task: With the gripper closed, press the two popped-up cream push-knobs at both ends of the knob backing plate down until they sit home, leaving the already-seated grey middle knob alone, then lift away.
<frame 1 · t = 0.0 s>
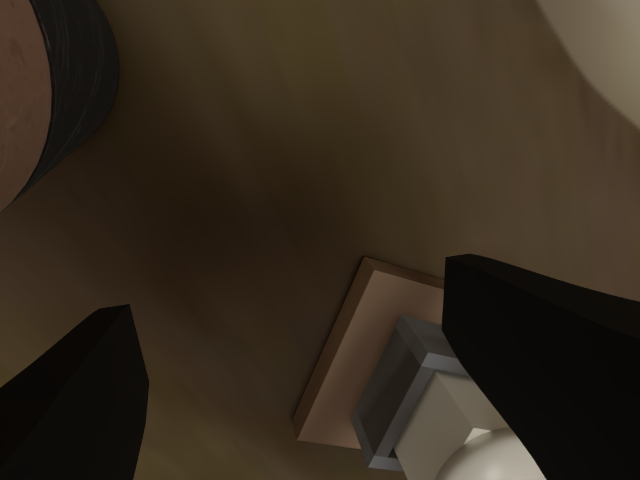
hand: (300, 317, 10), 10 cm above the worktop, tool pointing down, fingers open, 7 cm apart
knob backing plate: (558, 392, 28), on the worktop
knob 1: (475, 451, 19), point 6 cm above the worktop, slide at 2.2 cm
travel mug: (12, 54, 16), on the worktop
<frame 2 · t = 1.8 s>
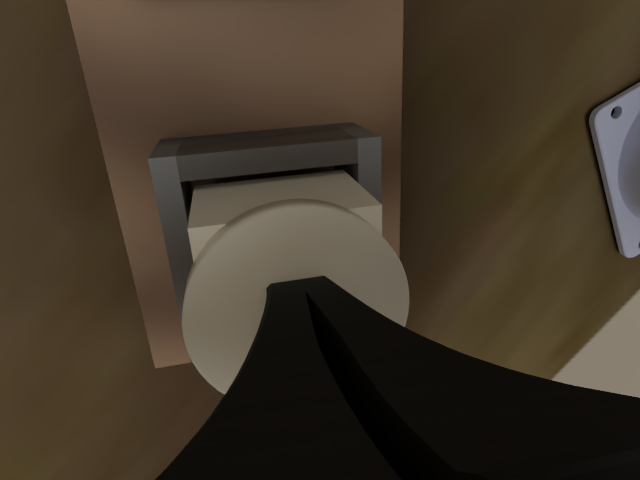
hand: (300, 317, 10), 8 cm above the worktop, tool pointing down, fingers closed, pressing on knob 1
knob 1: (287, 276, 12), point 6 cm above the worktop, slide at 2.1 cm, touching gripper
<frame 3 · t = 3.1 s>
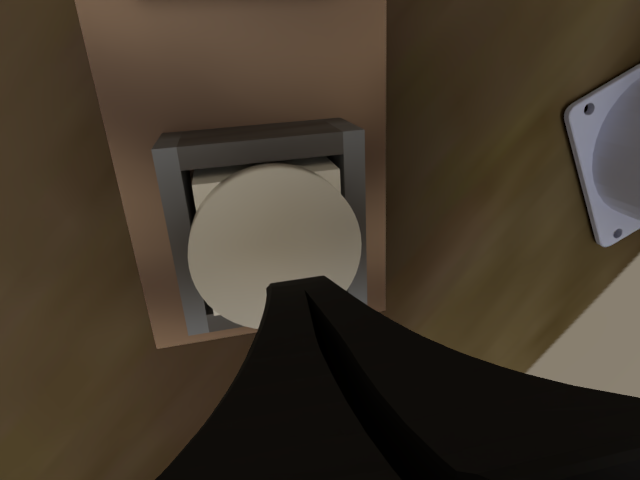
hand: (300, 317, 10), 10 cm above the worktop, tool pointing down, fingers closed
knob 1: (269, 229, 15), point 4 cm above the worktop, slide at -0.2 cm
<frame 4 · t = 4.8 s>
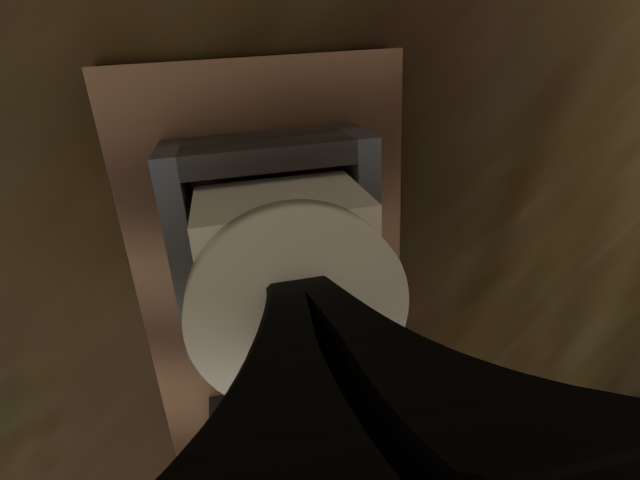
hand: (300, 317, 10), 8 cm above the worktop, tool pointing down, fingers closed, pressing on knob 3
knob 3: (287, 277, 12), point 6 cm above the worktop, slide at 2.1 cm, touching gripper
knob backing plate: (287, 415, 22), on the worktop
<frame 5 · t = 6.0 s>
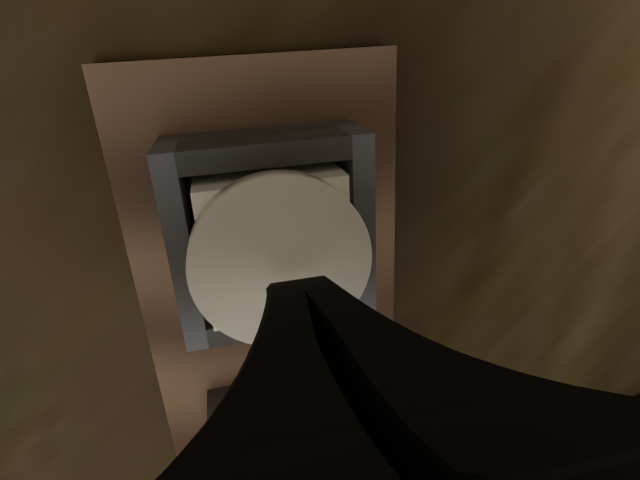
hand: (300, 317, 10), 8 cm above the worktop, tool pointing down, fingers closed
knob 3: (273, 239, 15), point 4 cm above the worktop, slide at -0.2 cm
knob backing plate: (284, 408, 22), on the worktop
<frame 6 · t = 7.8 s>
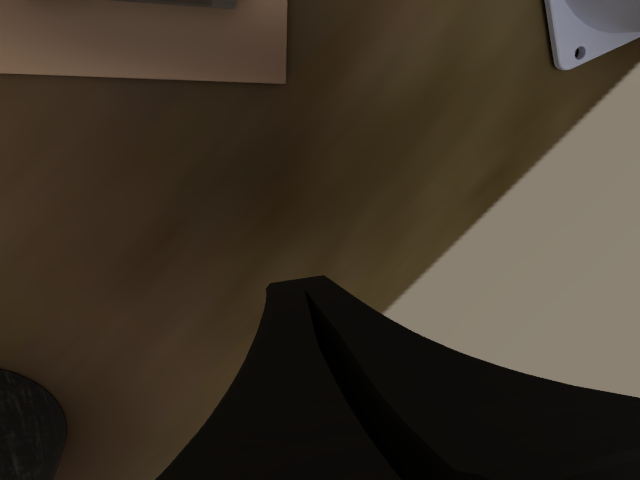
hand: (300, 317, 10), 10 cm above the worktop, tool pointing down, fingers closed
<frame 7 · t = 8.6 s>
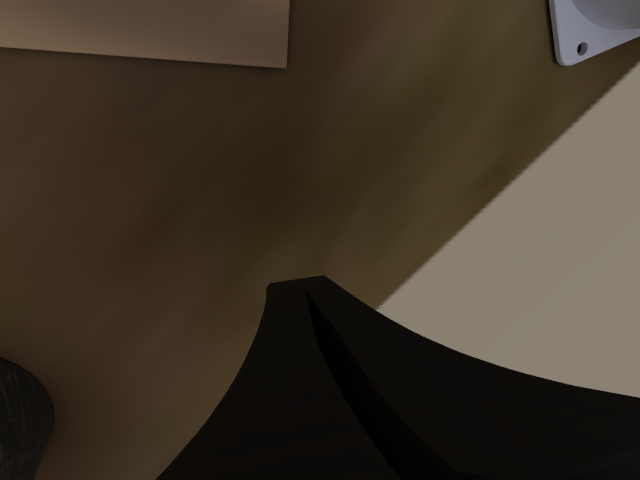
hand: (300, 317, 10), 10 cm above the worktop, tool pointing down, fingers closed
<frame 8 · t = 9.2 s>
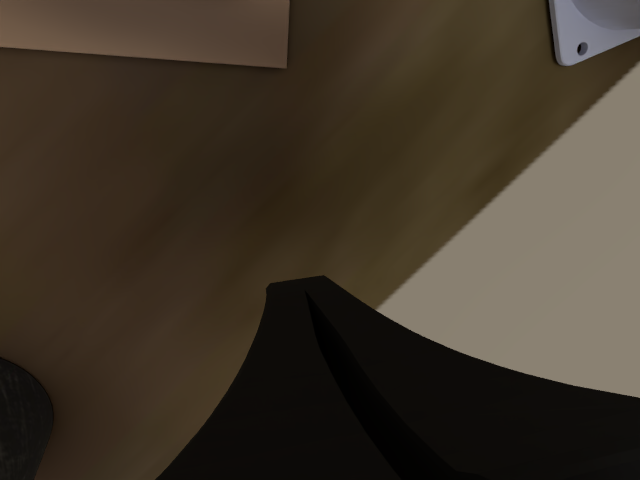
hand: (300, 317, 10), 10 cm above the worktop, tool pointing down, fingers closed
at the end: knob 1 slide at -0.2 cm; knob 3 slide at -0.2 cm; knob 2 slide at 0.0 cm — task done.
